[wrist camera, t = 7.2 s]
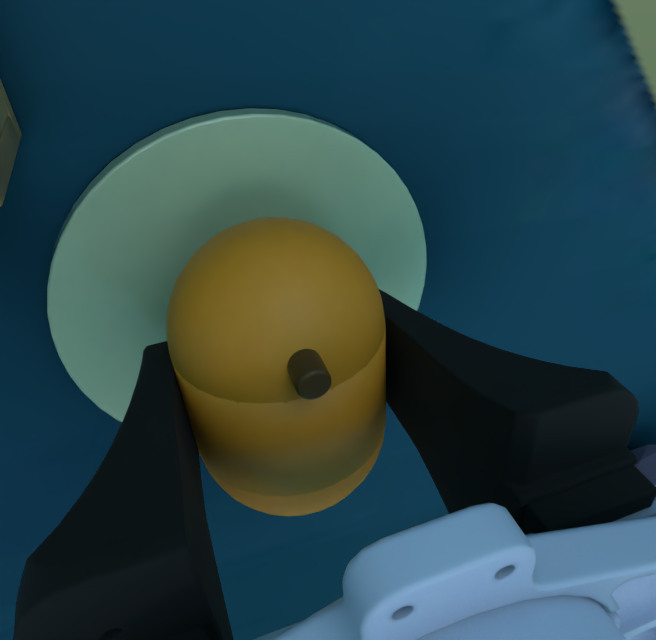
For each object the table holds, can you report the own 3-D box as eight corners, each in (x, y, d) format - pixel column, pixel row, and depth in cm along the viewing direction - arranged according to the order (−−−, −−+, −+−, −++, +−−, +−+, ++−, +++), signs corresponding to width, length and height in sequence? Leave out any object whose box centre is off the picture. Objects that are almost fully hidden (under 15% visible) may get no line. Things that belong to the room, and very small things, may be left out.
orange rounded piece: (349, 396, 19) (424, 534, 15) (200, 440, 18) (236, 603, 14) (336, 166, 14) (441, 273, 10) (131, 206, 13) (154, 346, 9)
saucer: (414, 382, 22) (421, 392, 21) (116, 471, 19) (117, 485, 19) (425, 75, 15) (436, 81, 15) (-28, 150, 13) (-32, 160, 12)
